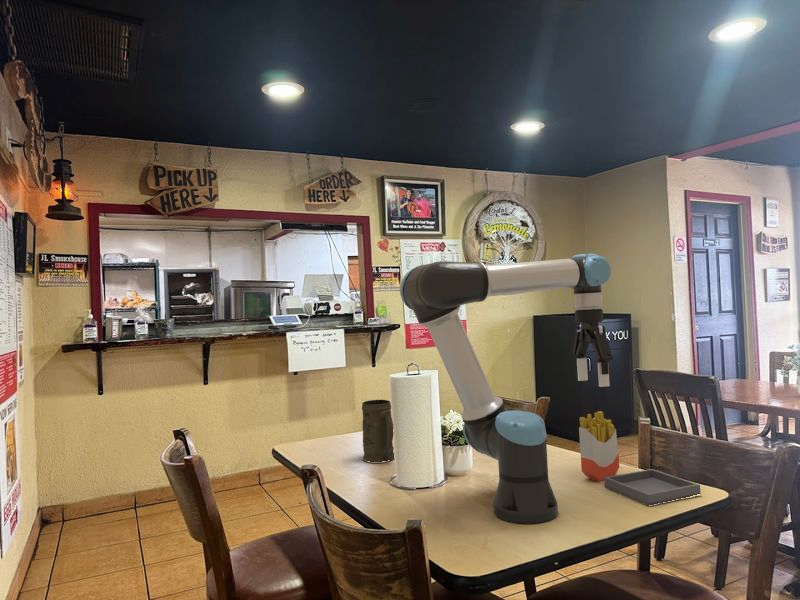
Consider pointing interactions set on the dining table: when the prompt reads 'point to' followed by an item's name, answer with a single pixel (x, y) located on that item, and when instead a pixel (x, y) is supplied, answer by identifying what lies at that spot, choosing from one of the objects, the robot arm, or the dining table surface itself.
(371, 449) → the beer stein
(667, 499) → the serving tray
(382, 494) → the dining table surface
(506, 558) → the dining table surface
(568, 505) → the dining table surface
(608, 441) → the french fries container
